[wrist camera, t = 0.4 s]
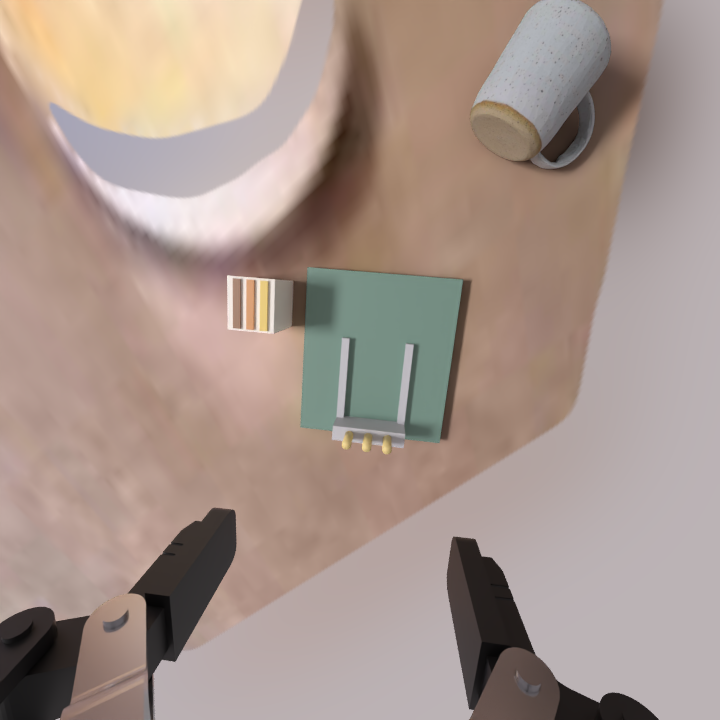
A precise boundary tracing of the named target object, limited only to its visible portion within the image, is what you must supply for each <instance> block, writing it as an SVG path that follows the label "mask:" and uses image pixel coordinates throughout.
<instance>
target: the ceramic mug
mask: <svg viewBox="0 0 720 720" xmlns="http://www.w3.org/2000/svg"><path fill="white" fill-rule="evenodd" d="M610 54H611V41H610V36H609V33H608V30H607V28H606V26H605V24H604V22H603V20H602V19H601V17H600V16H599V15H598V14H597V13H596V12H595V11H594V10H593V9H592V8H591V7H589V6H588V5H587V4H585V3H583V2H581V1H579V0H541V1H539V2H537V3H536V4H535V5H533V6H532V7H531V8H530V9H529V10H528V11H527V13H526V14H525V16H524V18H523V19H522V21H521V23H520V24H519V26H518V28H517V30H516V31H515V33H514V35H513V36H512V38H511V39H510V41H509V43H508V44H507V46H506V48H505V50H504V51H503V53H502V54H501V56H500V58H499V60H498V62H497V63H496V65H495V67H494V68H493V70H492V72H491V73H490V75H489V76H488V78H487V80H486V81H485V83H484V84H483V86H482V88H481V90H480V91H479V93H478V95H477V97H476V100H475V102H474V104H473V107H472V109H471V113H470V122H471V127H472V130H473V132H474V134H475V136H476V137H477V139H478V140H479V141H480V142H481V143H482V144H483V145H484V146H485V147H486V148H487V149H489V150H490V151H492V152H493V153H494V154H496V155H498V156H500V157H502V158H505V159H508V160H512V161H525V160H529V159H530V160H531V161H532V163H533V164H535V165H537V166H539V167H540V168H544V169H556V168H561V167H563V166H566V165H568V164H569V163H571V162H572V161H574V160H575V159H576V158H577V157H578V156H579V155H580V154H581V152H582V151H583V150H584V148H585V147H586V145H587V144H588V142H589V140H590V138H591V135H592V132H593V128H594V120H595V111H594V104H593V100H592V97H591V94H590V92H589V90H590V88H591V87H592V86H593V85H594V83H595V82H596V81H597V80H598V78H599V77H600V76H601V74H602V73H603V71H604V70H605V68H606V66H607V64H608V62H609V58H610ZM576 106H577V108H578V112H579V128H578V133H577V136H576V138H575V140H574V142H573V143H572V144H571V145H570V146H569V148H568V149H567V150H566V151H565V152H564V153H563V154H562V155H560V156H559V157H558V159H557V160H556V162H550V161H549V160H547V159H546V158H544V156H543V155H542V154H541V152H540V151H541V150H542V149H543V148H544V147H545V146H546V145H547V144H548V143H549V142H550V141H551V140H552V138H553V137H554V136H555V134H556V133H557V132H558V130H559V129H560V128H561V126H562V125H563V123H564V122H565V120H566V119H567V118H568V116H569V115H570V114H571V113H572V111H573V110H574V109H575V108H576Z"/></svg>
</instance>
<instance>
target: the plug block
mask: <svg viewBox="0 0 720 720" xmlns="http://www.w3.org/2000/svg"><path fill="white" fill-rule="evenodd" d="M227 291H228V329H229V330H240V331H250V332H261V333H271V334H274V333H277V332H279V331H282V330H284V329H287V328H289V327H292V309H293V281H290V280H278V279H265V278H253V277H240V276H227Z"/></svg>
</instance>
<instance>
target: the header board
mask: <svg viewBox="0 0 720 720" xmlns="http://www.w3.org/2000/svg"><path fill="white" fill-rule="evenodd" d="M462 284H463V280H461V279H449V278H436V277H424V276H411V275H399V274H386V273H373V272H361V271H348V270H336V269H323V268H311V267H308V269H307V292H306V314H305V337H304V360H303V383H302V405H301V427H303V428H311V429H320V430H329V431H333V432H332V440H339V441H343V442H342V447H343V448H344V449H349V448H350V447H351V443H352V442H356V443H363V444H362V449H363V451H365V452H368V451H370V450H371V445H372V444H373V445H382V451H383V453H384V454H390V453H391V451H392V447H399V448H404V440H405V439H408V440H417V441H425V442H434V443H439V442H440V436H441V429H442V422H443V415H444V408H445V401H446V394H447V387H448V380H449V373H450V367H451V360H452V353H453V346H454V339H455V332H456V325H457V318H458V311H459V304H460V297H461V291H462Z"/></svg>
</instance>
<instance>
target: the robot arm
mask: <svg viewBox="0 0 720 720" xmlns="http://www.w3.org/2000/svg"><path fill="white" fill-rule="evenodd" d="M235 551H236V515H235V511H234V510H230V509H222V508H213V509H211V510H210V512H209V513H208V514H207V515H206V517H205V518H204V519H203V520H202V522H201V521H195V522H193V523H192V524H190V525H189V526H187V527H186V528H184V529H183V530H181V532H180V533H179V534H178V535H177V536H176V537H175V539H174V540H173V541H172V542H171V545H169V546H168V547H167V548H166V549H165V550H164V551H163V554H162V555H160V556H159V557H158V559H157V560H156V561H155V562H154V563H153V564H152V566H151V567H150V568H149V569H148V570H147V571H146V573H145V574H144V575H143V576H142V577H141V578H140V580H139V581H138V582H137V583H136V584H135V586H134V587H133V588H132V589H131V590H130V591H129V593H128V594H123V595H120V596H117V597H114V598H112V599H110V600H108V601H107V602H105V603H104V604H102V605H101V606H100V607H98V608H97V609H96V610H95V611H94V612H93V613H92V614H91V615H90V616H85V617H79V618H73V619H67V620H62V621H55V615H54V612H53V611H52V610H51V609H50V608H47V607H35V608H31V609H27V610H24V611H22V612H19V613H17V614H15V615H13V616H11V617H9V618H8V619H6V620H5V621H3V622H2V623H0V720H55V719H58V718H60V720H155V709H154V675H153V673H154V671H155V670H156V668H157V666H158V665H159V663H160V661H161V660H168V661H174V662H175V661H176V660H177V658H178V656H179V654H180V653H181V651H182V649H183V647H184V646H185V644H186V642H187V640H188V639H189V637H190V635H191V633H192V632H193V630H194V628H195V626H196V625H197V623H198V621H199V619H200V618H201V616H202V614H203V612H204V611H205V609H206V607H207V605H208V604H209V602H210V600H211V598H212V597H213V595H214V593H215V591H216V590H217V588H218V586H219V584H220V583H221V581H222V579H223V577H224V576H225V574H226V572H227V570H228V569H229V567H230V565H231V563H232V561H233V558H234V555H235ZM447 590H448V596H449V602H450V607H451V613H452V618H453V623H454V629H455V634H456V640H457V645H458V651H459V657H460V662H461V667H462V673H463V678H464V683H465V689H466V695H467V700H468V706H469V709H472V710H474V711H473V714H472V716H471V718H470V719H469V720H659V719H658V718H657V717H656V716H655V715H654V714H653V713H652V712H651V711H649V710H648V709H647V708H646V707H645V706H643V705H642V704H640V703H639V702H637V701H636V700H634V699H632V698H630V697H628V696H626V695H623V694H620V693H608V694H606V695H604V696H603V697H602V699H601V701H600V703H598V702H596V701H594V700H592V699H590V698H588V697H586V696H584V695H581V694H580V693H577V692H575V691H573V690H571V689H569V688H567V687H566V686H564V685H563V684H561V683H560V682H558V681H557V680H556V679H555V677H554V675H553V673H552V672H551V670H550V669H549V668H548V667H547V665H546V664H545V663H544V662H543V661H542V660H541V659H540V658H538V657H537V656H536V655H535V652H534V650H533V648H532V645H531V642H530V640H529V638H528V635H527V632H526V630H525V627H524V624H523V622H522V619H521V617H520V614H519V612H518V609H517V607H516V604H515V602H514V600H513V596H512V594H511V591H510V589H509V586H508V583H507V581H506V578H505V576H504V573H503V571H502V570H501V568H500V567H499V566H498V565H497V564H496V562H495V561H494V560H493V559H492V558H490V557H482V556H481V554H480V551H479V548H478V545H477V542H476V540H475V539H470V538H461V537H453V539H452V543H451V550H450V557H449V564H448V570H447Z"/></svg>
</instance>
